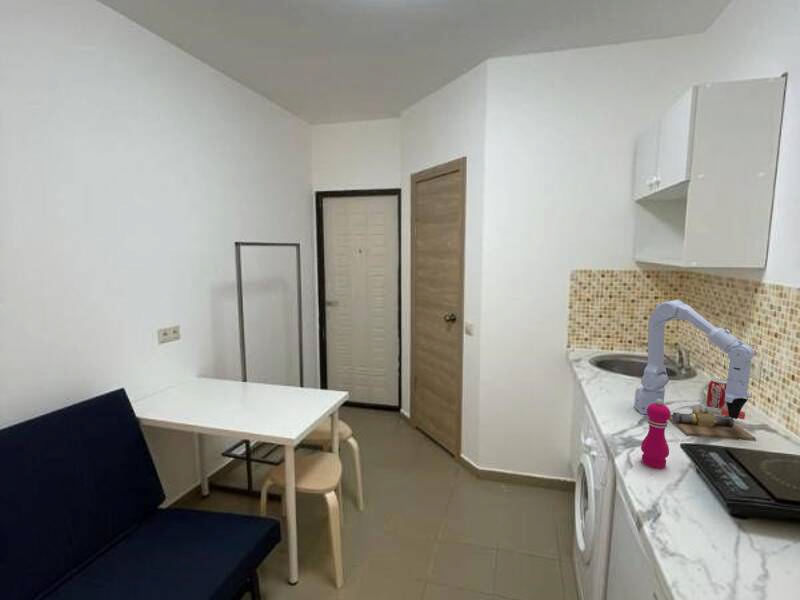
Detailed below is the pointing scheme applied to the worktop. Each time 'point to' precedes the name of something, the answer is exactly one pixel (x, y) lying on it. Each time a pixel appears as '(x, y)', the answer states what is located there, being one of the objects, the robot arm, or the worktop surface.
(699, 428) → the mounting board
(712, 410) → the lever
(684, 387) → the worktop surface
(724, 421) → the valve pipe
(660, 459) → the pepper mill
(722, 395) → the soda can
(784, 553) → the worktop surface
